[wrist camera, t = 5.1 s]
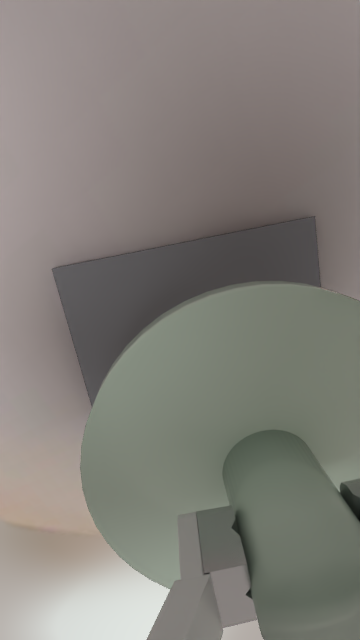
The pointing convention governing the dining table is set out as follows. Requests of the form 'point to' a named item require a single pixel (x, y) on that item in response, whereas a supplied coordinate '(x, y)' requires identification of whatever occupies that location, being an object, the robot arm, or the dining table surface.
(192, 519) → the robot arm
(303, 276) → the mat
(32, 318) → the dining table surface
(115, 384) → the lid
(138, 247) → the dining table surface
